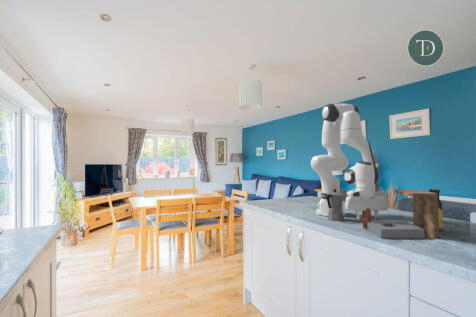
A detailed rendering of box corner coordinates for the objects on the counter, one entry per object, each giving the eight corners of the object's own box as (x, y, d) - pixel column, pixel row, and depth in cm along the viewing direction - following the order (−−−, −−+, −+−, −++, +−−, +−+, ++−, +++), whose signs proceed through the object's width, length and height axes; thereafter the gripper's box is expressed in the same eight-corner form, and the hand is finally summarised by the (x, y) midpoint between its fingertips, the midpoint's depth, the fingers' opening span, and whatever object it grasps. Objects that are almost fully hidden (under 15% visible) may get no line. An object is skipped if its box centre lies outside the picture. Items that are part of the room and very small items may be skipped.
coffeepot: (334, 216, 152) (333, 187, 153) (349, 218, 145) (348, 188, 145) (320, 220, 142) (319, 189, 143) (335, 223, 135) (334, 191, 136)
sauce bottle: (423, 229, 119) (421, 188, 120) (431, 227, 122) (429, 187, 122) (438, 232, 113) (436, 189, 114) (446, 230, 115) (444, 189, 116)
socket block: (367, 229, 121) (366, 221, 121) (405, 229, 119) (405, 221, 120) (381, 238, 107) (380, 229, 107) (424, 238, 106) (424, 229, 106)
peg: (361, 226, 128) (360, 207, 128) (369, 226, 128) (368, 207, 128) (364, 228, 124) (363, 208, 124) (372, 228, 124) (372, 208, 124)
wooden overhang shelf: (396, 229, 120) (395, 190, 120) (418, 229, 119) (416, 189, 119) (414, 238, 106) (412, 193, 106) (439, 238, 105) (437, 193, 105)
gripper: (383, 191, 128) (384, 217, 128) (343, 192, 130) (344, 217, 130) (389, 192, 122) (391, 220, 122) (347, 193, 124) (348, 220, 124)
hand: (366, 219), depth 126 cm, fingers open, 6 cm apart
